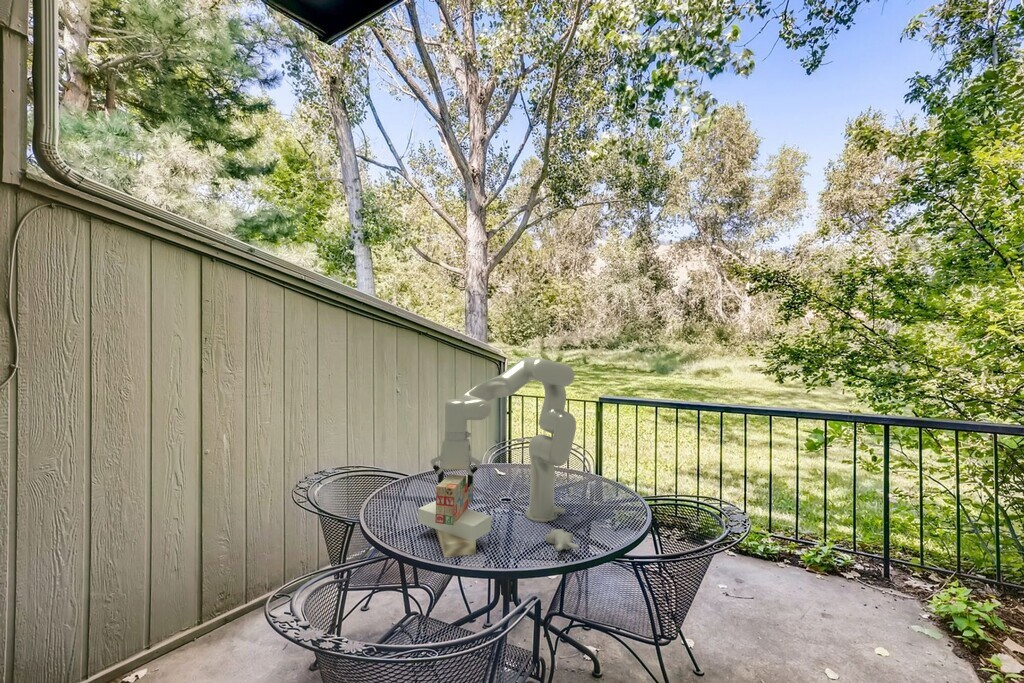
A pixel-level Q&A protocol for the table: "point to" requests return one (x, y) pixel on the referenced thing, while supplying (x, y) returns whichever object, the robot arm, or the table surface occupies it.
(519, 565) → the table surface
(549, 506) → the robot arm
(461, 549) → the lower slab
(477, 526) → the upper slab
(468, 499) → the stack of blocks
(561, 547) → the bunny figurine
